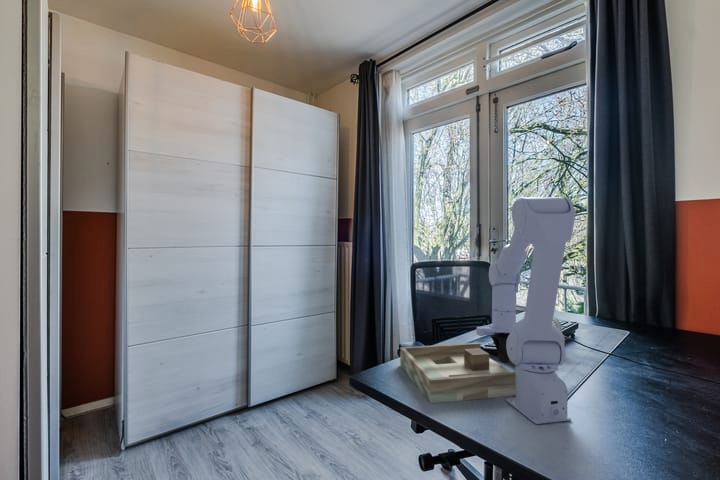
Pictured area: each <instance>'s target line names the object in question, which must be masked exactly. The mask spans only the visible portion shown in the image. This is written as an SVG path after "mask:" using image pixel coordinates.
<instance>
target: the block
mask: <svg viewBox="0 0 720 480" xmlns="http://www.w3.org/2000/svg"><path fill="white" fill-rule="evenodd" d="M489 358H490V353H488V351H485V350H483V349H482V348H481V349H480V348H476V349H464V365H466V366H467V367H468V368H469V369H471V370H472V371H481V370H489Z"/></svg>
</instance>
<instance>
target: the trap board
mask: <svg viewBox="0 0 720 480" xmlns="http://www.w3.org/2000/svg"><path fill="white" fill-rule="evenodd" d="M481 347H482V346H481V343H480V342H469V343H466V342H465V343H455V344H454V343H452V344H451V343H450V344H436V345H434V344H433V345H421V346H419V345H418V346H405V347H400V348H399V351H400V353H399V354H400V355H399V360H400V362H399V364H400V367H401V368H402V370H403V371H404V372H405V373H406V374H407V375H408V377H409V378H410V380H411V381H412V382H413V383H414V384H415V385H416V387H417V388H418V390H420V392H421V393H422V395H423V396H424V398H426V399H427V401H428V402H429V403H430V404H439V403H452V402H462V401H471V400H481V399H493V398H503V397H514V396H515V397H516V371H511V370H509V369H508V368H506V367H505V366H503V365H501V364H500V363H498V362H497V361H495V360H494V359H492V358H491V357H489V370H481V371H472V370H471V369H469V368H468V367H467V366H466V365H464V349H476V348H480V349H482V348H481Z"/></svg>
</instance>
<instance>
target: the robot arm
mask: <svg viewBox="0 0 720 480" xmlns="http://www.w3.org/2000/svg"><path fill="white" fill-rule="evenodd" d="M576 212H577V211H576V209H575V207H574V204H573V202H572V200H571V199H570V198H569V197H568V196H559V197H558V196H557V197H555V196H554V197H551V196H550V197H525V196H524V197H523V196H518V197H517V198H516V199H515V200H514V202H513V204H512V207H511V219H512V224H513V227H514V229H513V233H512V235H511V238H510V239H511V240H510V243H509V244H506V245H504V247H502V249H501V252H500V254H499V257H498V259H497V261H494V262H492V263H490V266H489V268H488V279H489V284H490V285H491V286H492V287H491V288H492V289H491V293H492V296H491V298H492V299H491V300H492V301H491V306H492V307H491V309H492V310H491V324H488V325H482V326H476V335H477V336H479V337H485V336H490V338H491V340H492V341H493V344H494V347H495V348H496V352H497V356H498V360H499V361H500V362H501V363H503V364H509V361H510V362H511V364H513V365H515V372H516V396H515V397H510V398H509V397H508V398H506V402H507V403H509V404H510V405H511V406H512V407H514V409H516V410H518V412H520V413H522V414H523V415H524V416H525V417H526V418H527V419H529V420H530V421H531V422H532V423H534V424H537V425H539V424H541V425H542V424H548V423H549V424H550V423H557V422H567V421H571V420H572V417H571V416H570V415H568V387H567V385H566V383H565V381H564V380H562V379H561V378H560V376H558V375H557V373H556V371H559V366H562V365H563V363H564V361H565V359H566V348H565V347H566V346H565V341H566V338H565V336H564V334H563V331H562V332H561V331H560V330H559V329H558V328H557V326H556V325H555V324H554V322H553V316H554V315H555V309H556V303H557V296H558V292H559V285H560V279H561V275H562V267H563V261H564V255H565V251H566V244H567V243H569V242H570V241H571V240H572V238H573V237H572V236H573V232H574V227H575V220H576V214H577V213H576ZM530 244H531V245H532V247H533V253H532V258H531V260H532V261H531V266H530V275H529V280H528V287H527V288H528V289H527V295H526V301H525V302H526V303H525V310H524V316H523V318H522V319H519V320H518V321H517V293H518V292H519V285H520V281H521V272H520V271H521V269H522V268H523V266H524V264H525V262H526V260H527V259H528V253H527V248H528V247H529V246H530ZM554 317H555V316H554Z"/></svg>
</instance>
